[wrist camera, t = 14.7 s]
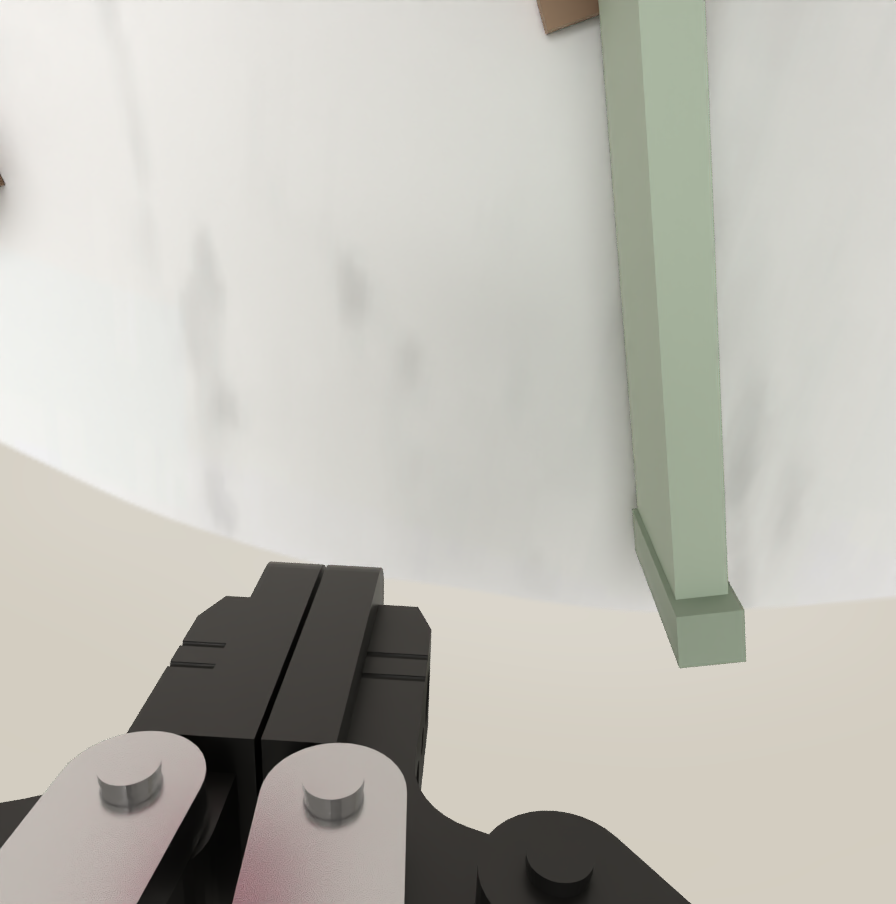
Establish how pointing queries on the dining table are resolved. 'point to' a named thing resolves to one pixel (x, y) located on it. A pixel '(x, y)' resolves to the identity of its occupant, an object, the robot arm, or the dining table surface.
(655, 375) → the panel
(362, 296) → the dining table surface
